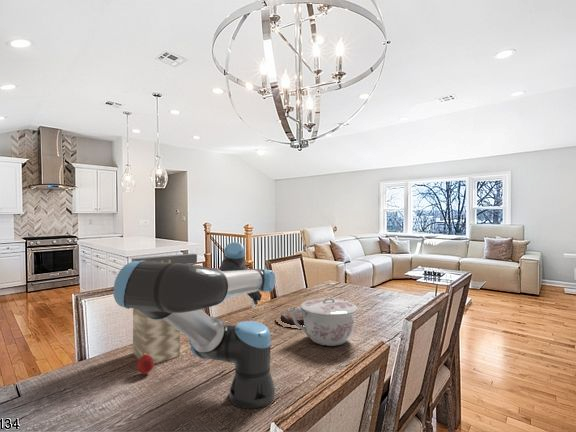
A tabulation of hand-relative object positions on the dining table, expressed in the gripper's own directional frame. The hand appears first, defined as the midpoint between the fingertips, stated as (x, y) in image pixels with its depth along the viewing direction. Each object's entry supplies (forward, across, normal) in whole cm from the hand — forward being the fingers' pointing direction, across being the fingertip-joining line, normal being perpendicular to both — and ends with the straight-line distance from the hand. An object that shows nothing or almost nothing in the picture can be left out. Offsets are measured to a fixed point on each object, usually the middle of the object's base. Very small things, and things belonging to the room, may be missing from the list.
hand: (239, 303), depth 143 cm
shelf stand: (+13, +30, +24) cm, 41 cm away
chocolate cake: (+40, -27, -22) cm, 53 cm away
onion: (+2, +25, +36) cm, 44 cm away
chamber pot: (+21, -43, -3) cm, 48 cm away
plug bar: (-14, +33, -2) cm, 36 cm away
